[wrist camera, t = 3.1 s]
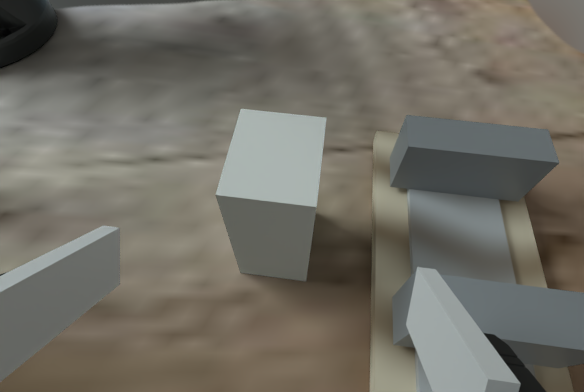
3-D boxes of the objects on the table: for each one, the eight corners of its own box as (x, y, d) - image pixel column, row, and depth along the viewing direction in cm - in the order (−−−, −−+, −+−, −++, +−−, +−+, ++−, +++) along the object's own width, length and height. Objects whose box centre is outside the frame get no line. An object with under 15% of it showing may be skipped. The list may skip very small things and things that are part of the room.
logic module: (255, 205, 30) (240, 108, 21) (313, 212, 30) (326, 117, 20) (240, 272, 27) (215, 194, 17) (306, 281, 26) (316, 207, 17)
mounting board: (373, 141, 34) (377, 126, 32) (502, 155, 33) (514, 140, 31) (369, 407, 22) (376, 406, 20) (568, 438, 21) (593, 440, 20)
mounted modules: (389, 157, 30) (406, 114, 26) (510, 171, 30) (548, 129, 25) (393, 344, 22) (418, 327, 18) (558, 368, 22) (624, 355, 17)
